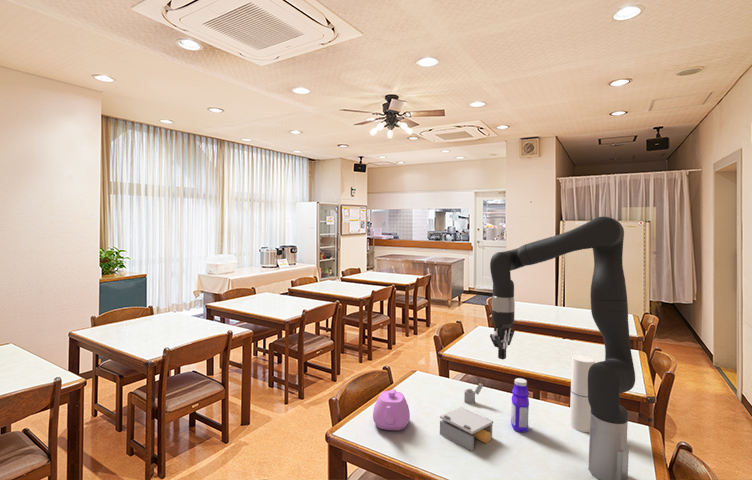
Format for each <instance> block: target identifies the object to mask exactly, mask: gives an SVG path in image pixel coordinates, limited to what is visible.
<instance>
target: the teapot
mask: <svg viewBox="0 0 752 480" xmlns="http://www.w3.org/2000/svg"><path fill="white" fill-rule="evenodd" d="M410 413H411V412H410V409H409V404H408V402H407V399H406V398H405V395H404V394H403V393H402V392H400V391H397V390H396V389H394V388H393V389H391V390H385V391H382V392H381V393H380V394H379V396H378V398H377V399H376V402H375V404H374V406H373V411H372V419H373V422H374V424H375V425H376V427H377V428H379V429H381V430H386V431H400V430H403V429H405V428H406V426H407V425H408V423H409V422H410V418H411V417H410V416H411V414H410Z"/></svg>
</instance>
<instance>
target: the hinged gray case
mask: <svg viewBox="0 0 752 480" xmlns="http://www.w3.org/2000/svg"><path fill="white" fill-rule="evenodd" d="M483 429H484V430H486V431H488V432H490V434H491V439H493V424H491V425H489V426H487V427H485V428H483ZM439 435H441V436H443V437H445V438H447V439H449V440H450V441H453V442H454V443H456V444H458V445H460V446H462V447H463V448H465V449H467V450H469V451H471V452H473V451H474V448H475V447H474V445H475V437H474V436H472V435H471V434H469V433H467V432H465V430H463V429H461V428H459V427H457V426H455V425H453V424H451V423H449V422H447V421H445V420H443V419H441V420H440V421H439Z"/></svg>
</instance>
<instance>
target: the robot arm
mask: <svg viewBox="0 0 752 480" xmlns="http://www.w3.org/2000/svg"><path fill="white" fill-rule="evenodd" d="M624 237H625V230H624V227H623V225H622V224H621V223H620V222H619V221H618V220H617V219H614V218H613V217H610V216H598V217H595V218H593V219H592V220H589V221H588V222H586V223H583V224H581V225H579V226H578V227H575V228H573V229H570V230H568V231H566V232H562V233H560V234H556V235H554V236H550V237H546V238H543V239H538V240H535V241H533V242H529V243H525V244H523V245H521V246H519V247H517V248H513V249H510V250H506V251H505V250H504V251H499V252H495V253H494V254H493V255H492V256H491V258H490V266H489V267H490V268H489V269H490V275H491V276H490V277H491V280H492V299H491V322H492V323H493V324H494V328H493V331H494V332H493V334H492V333H490V334H489V337H490V340H491V342H492V344H493V346H494V347H495V348H497V349H498V350H497V354H498V355H497V358H498V359H500V360H505V359H506V358H507V348H508V346H510V345H511V343H512V340H513V337H514V335H515V329H512V325H514V324H515V306H516V305H515V304H516V303H515V283H514V281H513V280H512V278H511V276H512V275H511V271H515V270H518V269H520V268H523V267H526V266H533V265H537V264H539V263H543V262H547V261H550V260H553V259H555V258H557V257H558V258H559V257H561V256H563V255H566V254H568V253H569V254H570V253H573V252H577V251H582V250H588V249H592V252H593V253H592V254H593V262H594V263H593V274H592V278H591V285H590V311H591V316H592V318H593V322H594V324H595V325H596V327H597V329H598V331H599V333H600V334H601V336H602V338H603V343H604V352H605V354H604V355H605V357H604V360H603V361H597V362H595V363H594V364H593V365H591V367H590V368H589V371H588V401H589V404H590V407H591V414H590V432H589V445H588V470H589V472H590V474H592V476H594V477H595V478H597V479H598V480H627V479H628V477H629V458H630V457H629V455H630V454H629V453H630V449H629V448H630V445H629V444H628V425H629V412H628V410H627V409H626V407H624V406H623V405H622V404H620V394H624V393H627V392H629V391H631V390H632V389H633V388H634V386H635V383H636V371H635V364H634V359H633V355H632V349H631V343H630V341H631V340H630V327H629V326H630V325H629V307H628V306H629V305H628V293H627V292H628V291H627V285H626V277H625V272H624V266H623V254H624V253H623V251H624Z"/></svg>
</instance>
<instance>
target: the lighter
mask: <svg viewBox="0 0 752 480" xmlns="http://www.w3.org/2000/svg"><path fill="white" fill-rule="evenodd" d="M483 387H484V384H483V383H481V382H480V383H478V385H477V387H476V388H475V390H473V389H472V388H466V390H464V398H463V402H464V404H465V403H466V404H475V403H476V395H479V394H480V393H481V390H482V389H483Z"/></svg>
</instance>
